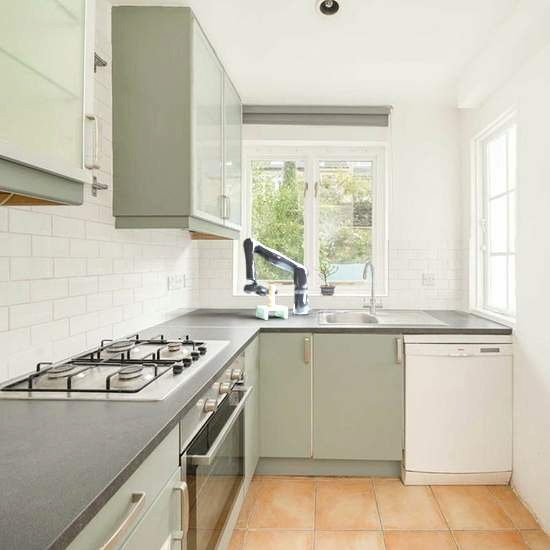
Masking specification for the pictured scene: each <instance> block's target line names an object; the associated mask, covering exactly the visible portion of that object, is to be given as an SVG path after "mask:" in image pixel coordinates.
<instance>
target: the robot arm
mask: <svg viewBox="0 0 550 550" xmlns="http://www.w3.org/2000/svg"><path fill="white" fill-rule="evenodd" d="M242 247H243V254H244V260H245V280H246V281H248V282H251V283H246V284H245V285H244V286H243V292H244V294H246V295H254V296H256V297H257V296H258V297H261V298H265V297H266V296H269V287H268V286H266V285H262V284H258V280H257V276H256V275H257V271H256V270H257V269H256V263H255V258H254V255H255V254H256V255H258V256H260V257H261V258H262V259H263V260H265V261H266V262H268V263H269V264H271V265H273V266H275V267H277V268H280V269H282V270H286V271H288V272H290V273H292V274H293V287H294V288H293V289H294V290H293V308H292V311H293V314H295V315H308V314H309V311H311V312H312V313H313V314H318V313H337V314H340V313H345V312H347V313H349V311H348V310H347V309H344V310H342V311H332V310H319V311H314V310H313V309H312V308H311V306H310V303H309V299H308V292H309V291H308V289H309V288H308V276H309V275H310V271H309V268H307V267H306V266H305V265H302V264H300V263H297V262H295V261H293V260H291V259H290V258H288V257H287V256H285V255H283V254H282V253H280V252H278V251H276V250H274V249H272V248H269V247H266V246H265V245H263V244H261V243H260V242H258V240H256V239H254V238H251V237H248V238H246V239H244V240H243V242H242ZM278 293H279V290H278V289H275V295H278Z"/></svg>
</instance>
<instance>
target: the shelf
mask: <svg viewBox="0 0 550 550" xmlns="http://www.w3.org/2000/svg"><path fill="white" fill-rule="evenodd" d="M275 305H276V307H268V305H255V317H256V318H258V319H262V320H269V312H270V311H272V312H273V311H275V312H274V314H275V315H274V316H275V317H279V318H282V319H288V318H289V317H288V316H289V314H288V313H289V307H288V306H283V305H279V304H275Z"/></svg>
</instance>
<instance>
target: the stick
mask: <svg viewBox="0 0 550 550" xmlns="http://www.w3.org/2000/svg"><path fill="white" fill-rule="evenodd" d="M275 286H276V285H275V284H269V285H268V289H269V295H268V304H267V306H268V307H276V305H277V304H275V302H276V301H275V296H276V294H275V290H276V287H275Z"/></svg>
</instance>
